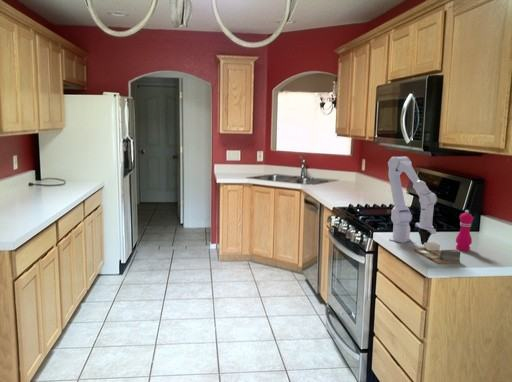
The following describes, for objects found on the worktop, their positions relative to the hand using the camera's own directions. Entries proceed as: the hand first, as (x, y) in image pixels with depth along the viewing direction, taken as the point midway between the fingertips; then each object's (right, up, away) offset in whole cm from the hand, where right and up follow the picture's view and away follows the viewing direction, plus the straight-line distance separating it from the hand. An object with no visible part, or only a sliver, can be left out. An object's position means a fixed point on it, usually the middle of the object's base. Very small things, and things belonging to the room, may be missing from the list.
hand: (423, 244), depth 221 cm
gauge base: (+1, -4, -12) cm, 12 cm away
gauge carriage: (0, -2, -7) cm, 7 cm away
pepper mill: (+19, -3, 0) cm, 20 cm away
